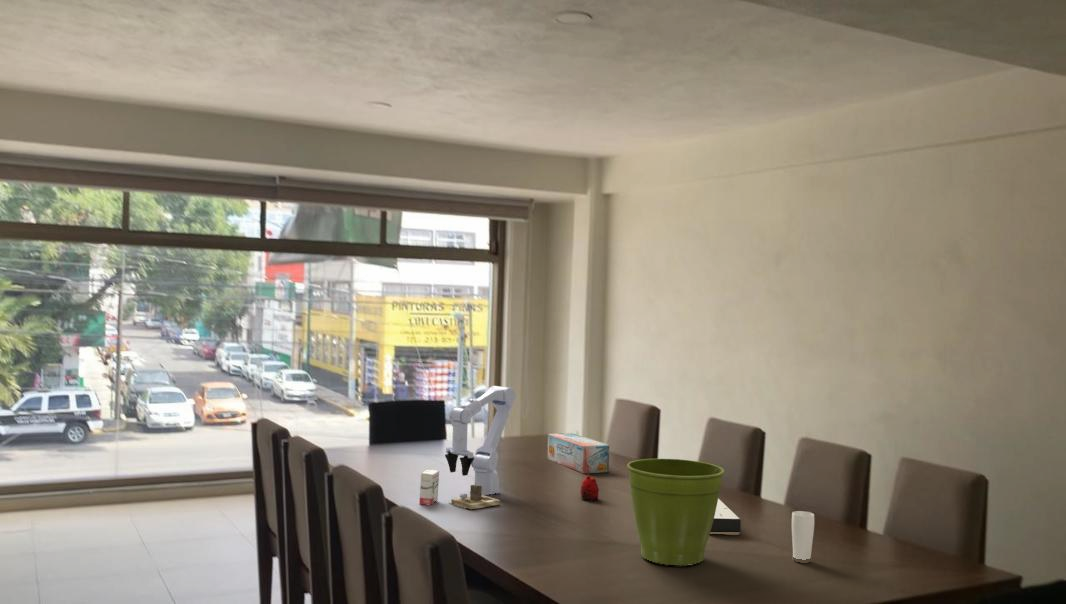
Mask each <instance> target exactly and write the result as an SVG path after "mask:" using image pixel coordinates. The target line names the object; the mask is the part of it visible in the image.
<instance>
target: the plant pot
mask: <svg viewBox="0 0 1066 604" xmlns="http://www.w3.org/2000/svg"><path fill="white" fill-rule="evenodd" d="M626 466H627V469H628V474H629V476H628V477H629V484H630V492H631V501H632V506H633V507H632V508H633V515H634V519H635V524H636V529H637V534H638V538H639V541H640V553H641V554H640V555H641V557H642V558H644V559H645V560H646V559H647V561H648V560H649V562H650V561H652V563H654V562H655V563H654V564H657V563H660V564H659V565H662V564H667V565H666V566H668V565H688V564H695V563H699V562H701V561H702V562H703V561H704V558H705V549H706V547H707V543H708V541H709V537H710V535H709V534H710V531H711V528H712V524H713V520H714V516H715V511H716V507H717V502H718V499H719V495H720V491H721V488H722V481H723V480H722V479H723V475H725V469H724V468H723V467H721V466H718V465H715V464H713V463H708V462H703V461H697V460H691V459H689V460H688V459H679V458H645V459H637V460H632V461H629V462H628V463H627V464H626ZM702 562H701V563H702ZM699 564H700V563H699Z"/></svg>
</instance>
